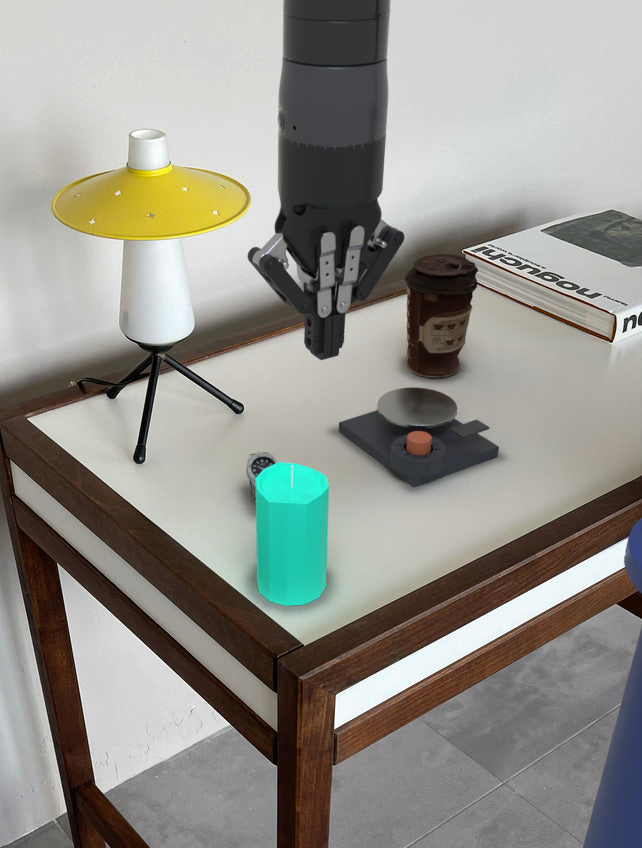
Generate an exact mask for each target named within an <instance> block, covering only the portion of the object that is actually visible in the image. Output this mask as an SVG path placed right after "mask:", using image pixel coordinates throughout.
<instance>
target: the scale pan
mask: <svg viewBox="0 0 642 848" xmlns="http://www.w3.org/2000/svg"><path fill="white" fill-rule="evenodd" d="M376 410H378V412H379V414H380V415H381V416H382V417H383V418H384V419H386V420H387V421H389V422H391V423H393V424H396V425H399V426H403V427H408V428H419V429H424V428H434V427H439V426H442V425H445V424H447V423H449V422H451V421H452V420H453V419H456V417H457V415H458V410H459V409H458V404H457V403H456V401H455V400H454V399H453V398H452V397H451V396H449V395H448V394H446V393H444V392H441V391H438V390H436V389H431V388H425V387H400V388H397V389H392V390H389V391H388V392H385V393H384V394H382V395H381V396H380V397H379V398H378V400H377V403H376ZM490 429H491V428H490V426H488V425H487V424H485V423H483V422H482V421H481V420H479V419H478V418H477V419H474V420H470V421H468V422H465V423H462V425H459V426H456V427H453V428H450V431H452V432H453V433H455V434H456V435H458V436H459V437H461V438H465V437H468V436H471V435H474V434H477V433H478V434H481V433H482V432H485V431H487V430H490Z"/></svg>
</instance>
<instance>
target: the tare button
mask: <svg viewBox="0 0 642 848" xmlns="http://www.w3.org/2000/svg"><path fill="white" fill-rule="evenodd" d="M431 440H432V437H431V435H430V434H428V433H426V432H423V431H414V432H411V433H409V434H408V436H407V445H406V450H407V452H408V453H410V454H414V455H426V454H429V453H430V451H431Z"/></svg>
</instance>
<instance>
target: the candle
mask: <svg viewBox="0 0 642 848" xmlns="http://www.w3.org/2000/svg"><path fill="white" fill-rule="evenodd" d="M255 488H256V504H255V533H256V534H255V535H256V536H255V537H256V539H255V540H256V542H255V543H256V544H255V545H256V547H255V548H256V584H257V589H258V593H259V594H261V595H262V596H263V597H264V598H265V599H266V600H267V601H269V602H271V603H274V604H277V605H278V604H279V605H282V606H287V607H289V606H290V607H291V606H302V605H303V606H304V605H307V604H309V603H311V602H313V601H316V600H317V599H319V598H320V597H321V596H322V594H323V592H324V591H325V590H326V588H327V567H328V566H327V562H328V534H329V533H328V531H329V530H328V529H329V503H330V501H329V499H330V484H329V480H328V478H327V475H325V474H324V473H323V472H320V471H318V470H317V469H316V468H312V467H309V466H306V465H303V464H299V463H296V462H295V463H293V462H281V461H278V462H277V463H276V464H274V465H272V466H270V467H268V468H266V469H264V470H262V472H261V473H260V474H259V475H258V476H257V477H256V478H255Z"/></svg>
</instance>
